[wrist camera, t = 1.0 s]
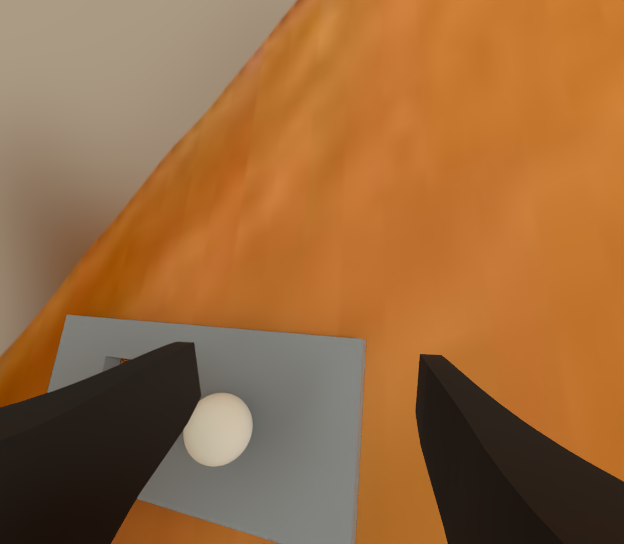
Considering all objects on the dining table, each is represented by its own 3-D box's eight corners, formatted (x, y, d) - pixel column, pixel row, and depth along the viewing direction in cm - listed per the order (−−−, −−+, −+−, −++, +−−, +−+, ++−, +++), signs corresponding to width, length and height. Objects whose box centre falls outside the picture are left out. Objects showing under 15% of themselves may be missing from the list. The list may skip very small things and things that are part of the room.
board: (354, 549, 19) (349, 565, 18) (48, 459, 27) (28, 465, 26) (366, 340, 22) (362, 339, 20) (83, 316, 30) (66, 314, 28)
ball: (259, 461, 20) (224, 484, 17) (205, 449, 22) (161, 468, 18) (267, 393, 21) (235, 402, 18) (215, 386, 22) (175, 392, 19)
